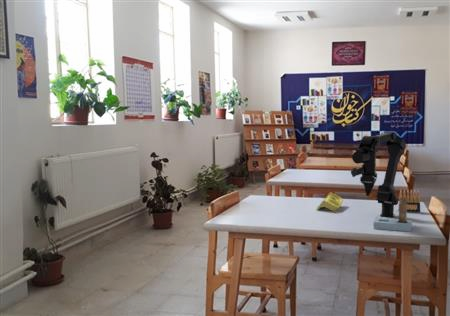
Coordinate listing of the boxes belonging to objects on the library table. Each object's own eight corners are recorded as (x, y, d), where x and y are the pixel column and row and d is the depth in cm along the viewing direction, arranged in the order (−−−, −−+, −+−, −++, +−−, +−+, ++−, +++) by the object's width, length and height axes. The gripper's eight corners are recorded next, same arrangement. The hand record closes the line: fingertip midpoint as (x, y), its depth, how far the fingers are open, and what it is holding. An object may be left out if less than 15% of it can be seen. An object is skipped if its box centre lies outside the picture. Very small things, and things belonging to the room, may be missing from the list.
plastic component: (338, 208, 258) (321, 199, 261) (332, 219, 260) (315, 210, 263) (344, 199, 276) (328, 190, 279) (338, 210, 278) (322, 201, 281)
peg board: (375, 223, 231) (375, 217, 230) (411, 226, 225) (412, 220, 224) (373, 228, 222) (373, 222, 221) (411, 231, 216) (411, 224, 215)
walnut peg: (396, 228, 222) (397, 197, 221) (402, 227, 224) (403, 197, 222) (402, 229, 220) (403, 198, 218) (407, 228, 221) (408, 198, 220)
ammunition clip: (398, 211, 259) (399, 189, 258) (398, 211, 261) (398, 188, 260) (420, 212, 257) (421, 189, 256) (419, 211, 259) (420, 189, 258)
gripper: (354, 159, 246) (353, 190, 247) (349, 163, 229) (348, 196, 230) (377, 160, 242) (376, 191, 243) (374, 164, 224) (373, 198, 226)
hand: (368, 194), depth 236 cm, fingers open, 9 cm apart
